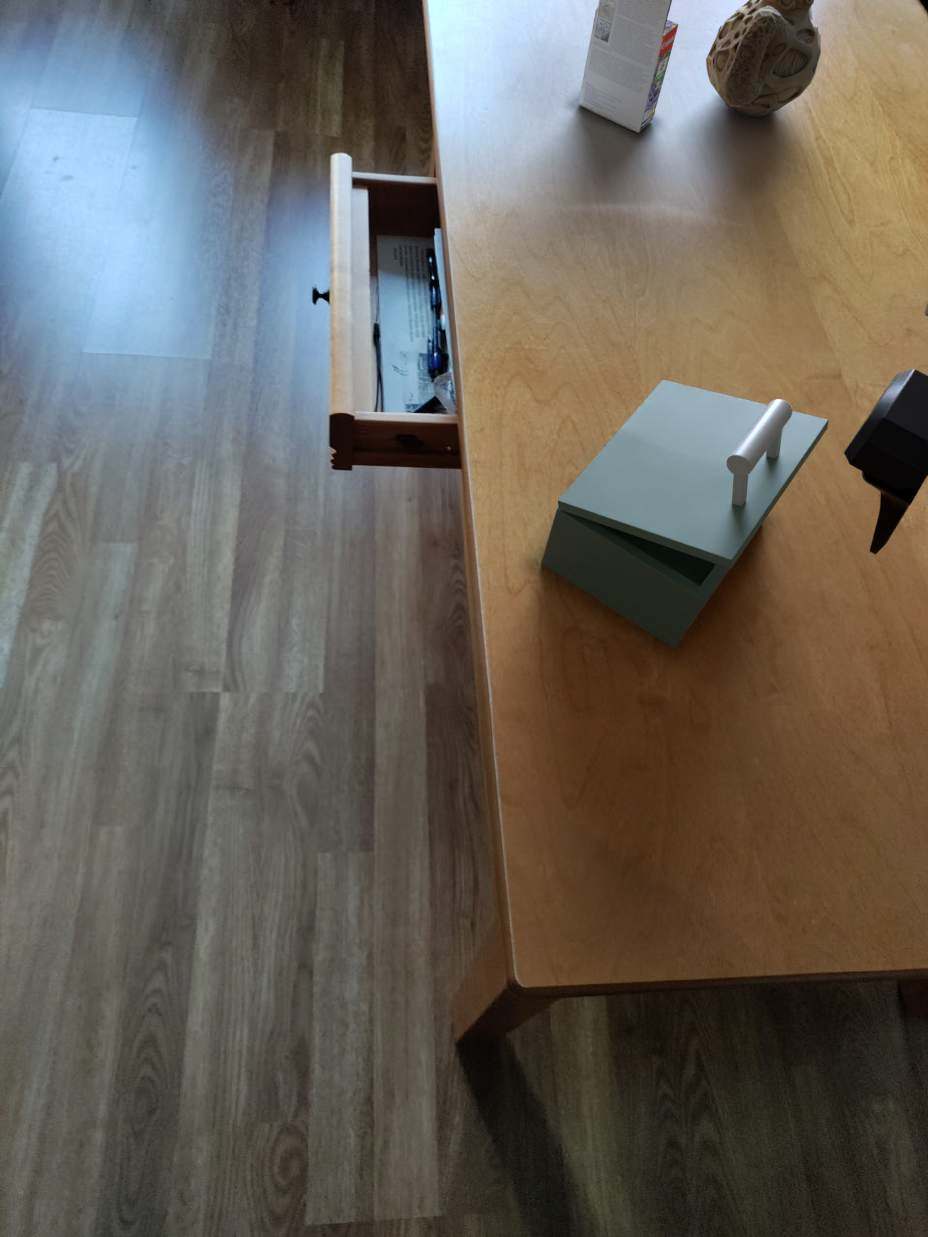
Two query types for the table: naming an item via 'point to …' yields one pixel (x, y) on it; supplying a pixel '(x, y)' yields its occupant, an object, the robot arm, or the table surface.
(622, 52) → the ink box
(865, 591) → the table surface
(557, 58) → the table surface
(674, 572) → the bin
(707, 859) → the table surface
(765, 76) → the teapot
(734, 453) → the bin lid
